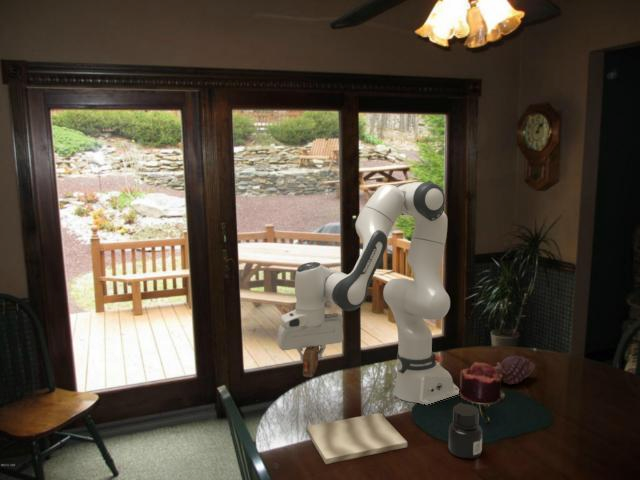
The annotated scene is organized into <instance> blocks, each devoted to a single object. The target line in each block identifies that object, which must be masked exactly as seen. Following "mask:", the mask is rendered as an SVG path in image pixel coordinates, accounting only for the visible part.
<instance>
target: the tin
mask: <svg viewBox="0 0 640 480" xmlns="http://www.w3.org/2000/svg"><path fill="white" fill-rule="evenodd" d="M319 350H320V346H313V347H306V348H304V350H303V351H304V352H303V354H304V355H303V361H302V376H303V377H307V378H313V377H314V374H315V372H316V371H317V368H318V365H319V359H317V358H316V352H319Z"/></svg>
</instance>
